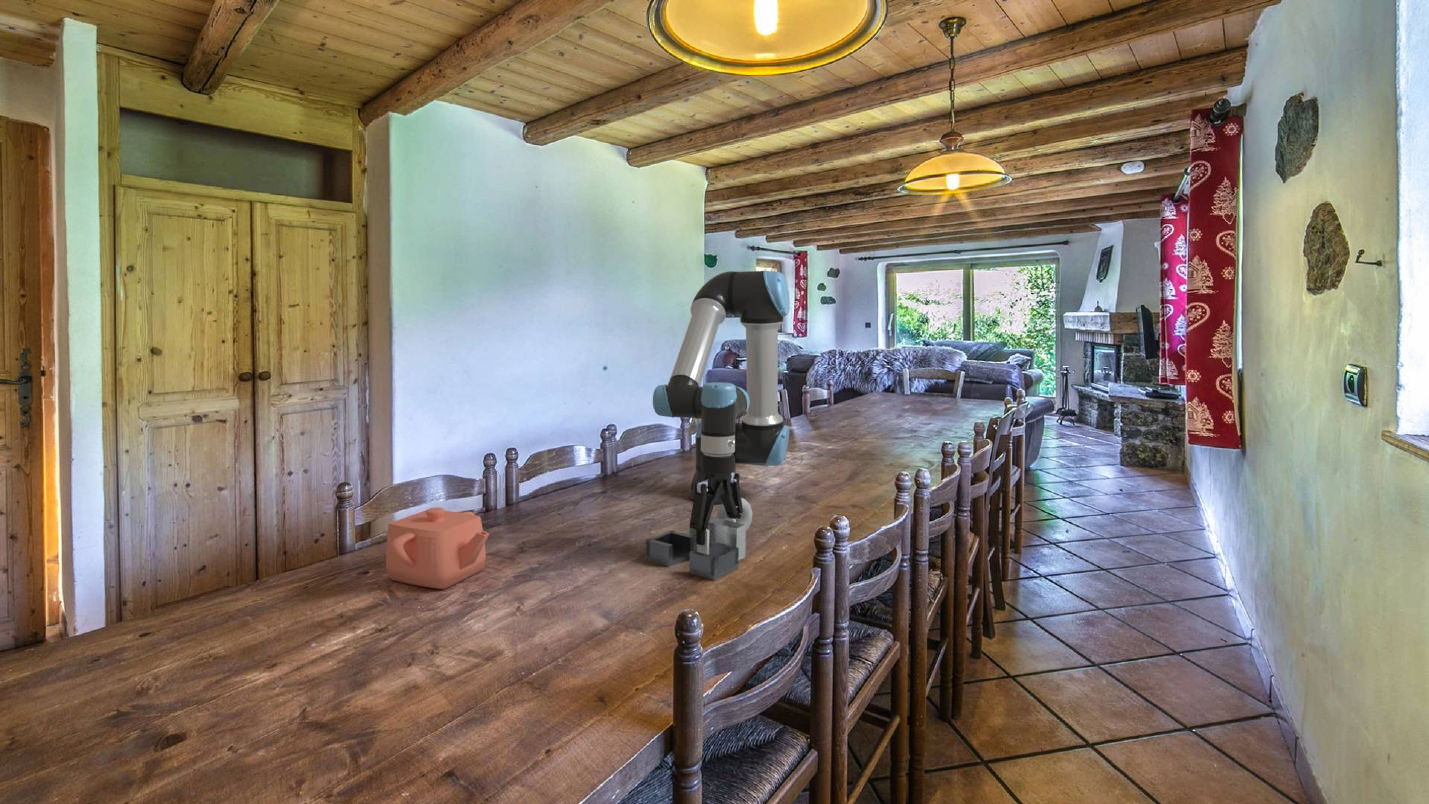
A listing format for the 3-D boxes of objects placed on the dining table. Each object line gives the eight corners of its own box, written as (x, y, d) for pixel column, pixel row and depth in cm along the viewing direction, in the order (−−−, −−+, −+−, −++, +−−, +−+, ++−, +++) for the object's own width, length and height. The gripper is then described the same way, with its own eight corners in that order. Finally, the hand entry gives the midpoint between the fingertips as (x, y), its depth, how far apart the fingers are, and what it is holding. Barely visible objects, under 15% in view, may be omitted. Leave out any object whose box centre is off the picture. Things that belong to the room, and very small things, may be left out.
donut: (721, 543, 158) (721, 501, 157) (712, 539, 161) (713, 498, 160) (755, 535, 164) (755, 495, 163) (746, 532, 167) (747, 492, 165)
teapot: (364, 590, 130) (360, 520, 128) (447, 553, 150) (445, 492, 148) (446, 607, 123) (443, 533, 121) (522, 566, 143) (520, 502, 141)
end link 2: (714, 561, 146) (714, 541, 146) (738, 568, 143) (738, 547, 142) (689, 573, 140) (689, 552, 139) (714, 580, 136) (714, 559, 135)
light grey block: (698, 545, 157) (699, 513, 156) (745, 557, 150) (745, 524, 149) (689, 549, 154) (689, 517, 153) (736, 562, 147) (736, 528, 146)
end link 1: (671, 549, 154) (671, 530, 153) (693, 555, 150) (693, 536, 149) (646, 560, 147) (646, 540, 146) (668, 567, 143) (668, 546, 143)
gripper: (700, 464, 138) (699, 570, 141) (759, 448, 156) (757, 542, 158) (672, 459, 142) (672, 562, 145) (733, 444, 160) (731, 536, 163)
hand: (716, 551), depth 152 cm, fingers open, 9 cm apart
